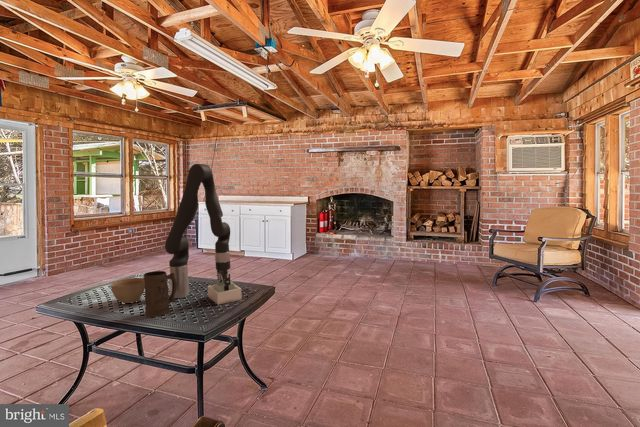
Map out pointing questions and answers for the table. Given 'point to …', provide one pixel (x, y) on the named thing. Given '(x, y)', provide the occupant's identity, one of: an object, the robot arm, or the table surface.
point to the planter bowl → (128, 289)
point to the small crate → (220, 286)
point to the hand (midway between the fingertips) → (224, 290)
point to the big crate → (224, 295)
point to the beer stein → (158, 293)
